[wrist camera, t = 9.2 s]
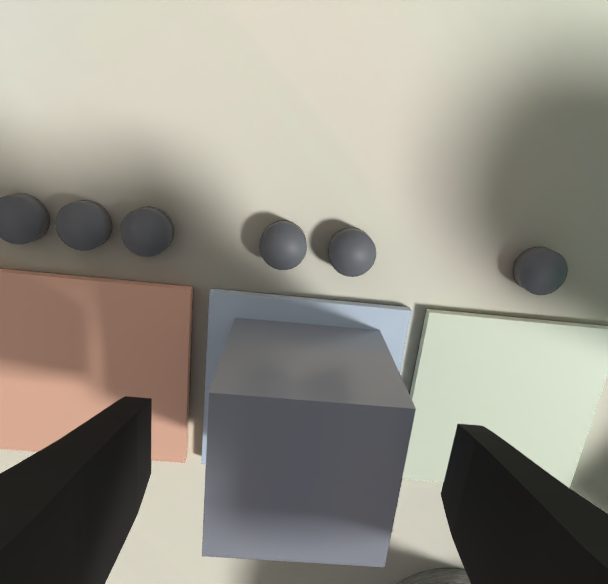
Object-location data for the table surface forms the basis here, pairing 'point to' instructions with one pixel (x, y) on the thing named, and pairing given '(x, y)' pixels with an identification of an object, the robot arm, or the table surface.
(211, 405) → the marker cube
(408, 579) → the grey tin
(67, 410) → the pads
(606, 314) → the table surface
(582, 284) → the table surface
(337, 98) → the table surface
